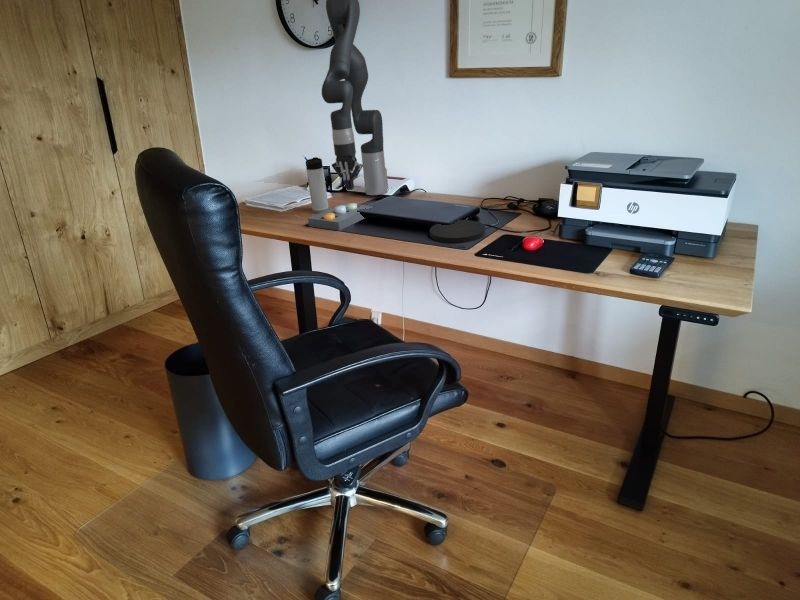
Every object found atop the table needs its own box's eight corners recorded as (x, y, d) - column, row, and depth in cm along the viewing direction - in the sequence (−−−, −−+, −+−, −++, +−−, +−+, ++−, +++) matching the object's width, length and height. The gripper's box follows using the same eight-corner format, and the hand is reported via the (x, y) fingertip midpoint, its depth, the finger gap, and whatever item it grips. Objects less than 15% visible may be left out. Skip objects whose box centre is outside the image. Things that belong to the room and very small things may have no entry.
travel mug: (330, 207, 219) (323, 156, 211) (327, 212, 214) (319, 160, 205) (315, 208, 220) (307, 157, 212) (311, 213, 214) (303, 161, 206)
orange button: (329, 221, 201) (328, 212, 199) (338, 222, 199) (336, 213, 197) (322, 225, 198) (320, 215, 196) (331, 226, 196) (329, 216, 194)
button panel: (343, 210, 214) (342, 203, 213) (373, 214, 207) (372, 206, 206) (309, 226, 200) (307, 218, 198) (339, 230, 192) (338, 222, 191)
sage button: (351, 211, 210) (350, 202, 209) (360, 212, 208) (358, 203, 207) (345, 214, 207) (343, 205, 206) (353, 215, 205) (352, 206, 204)
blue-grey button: (340, 214, 205) (339, 204, 204) (349, 215, 203) (347, 205, 202) (333, 217, 202) (332, 207, 201) (342, 218, 200) (340, 208, 199)
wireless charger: (443, 223, 191) (443, 218, 190) (493, 228, 183) (493, 222, 182) (420, 241, 177) (420, 235, 176) (473, 246, 169) (473, 240, 168)
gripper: (365, 139, 196) (370, 188, 204) (336, 138, 203) (342, 185, 210) (352, 144, 190) (358, 193, 198) (322, 143, 197) (329, 190, 205)
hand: (350, 189), depth 204 cm, fingers closed
